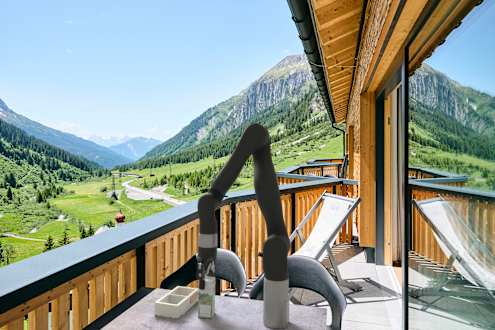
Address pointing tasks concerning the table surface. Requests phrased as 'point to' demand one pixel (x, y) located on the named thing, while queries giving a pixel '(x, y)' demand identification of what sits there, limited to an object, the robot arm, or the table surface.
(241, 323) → the table surface
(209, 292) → the syrup box
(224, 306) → the table surface
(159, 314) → the box
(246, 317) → the table surface
